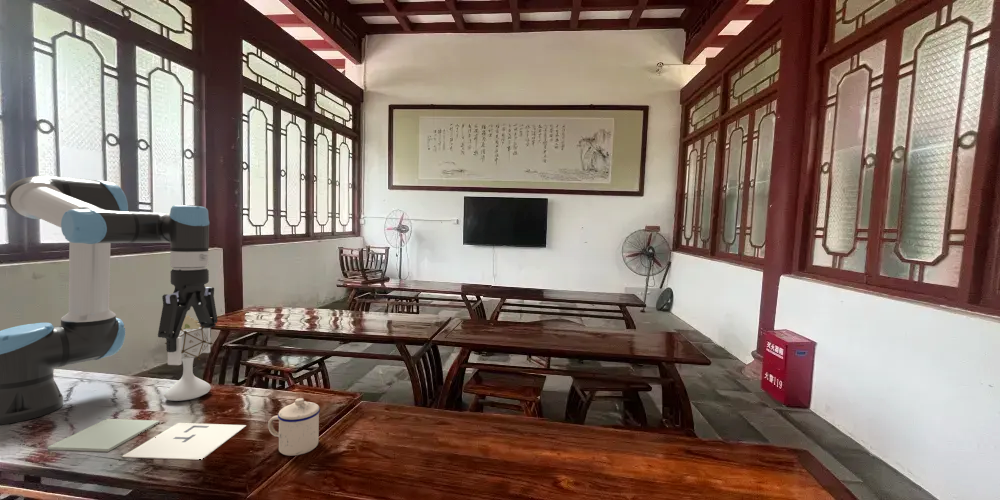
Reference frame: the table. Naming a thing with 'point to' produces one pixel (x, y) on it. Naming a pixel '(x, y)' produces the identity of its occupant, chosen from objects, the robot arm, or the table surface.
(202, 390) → the flower in vase
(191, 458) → the card
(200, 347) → the game die
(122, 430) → the sage mat
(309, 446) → the teacup with lid
